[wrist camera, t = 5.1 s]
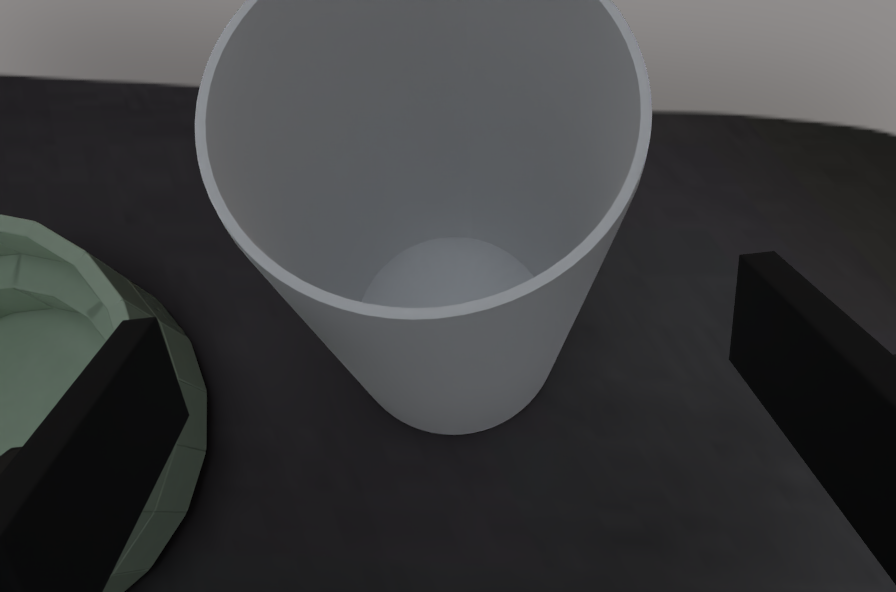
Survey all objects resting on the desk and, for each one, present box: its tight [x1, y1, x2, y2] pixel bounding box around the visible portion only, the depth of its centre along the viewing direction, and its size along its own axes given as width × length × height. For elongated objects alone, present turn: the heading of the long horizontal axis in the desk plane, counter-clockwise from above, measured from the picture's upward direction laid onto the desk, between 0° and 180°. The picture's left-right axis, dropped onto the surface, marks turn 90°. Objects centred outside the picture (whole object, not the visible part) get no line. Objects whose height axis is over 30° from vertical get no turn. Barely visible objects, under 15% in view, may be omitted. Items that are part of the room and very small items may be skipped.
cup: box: [195, 0, 652, 435], centre depth 20 cm, size 8×8×16 cm
